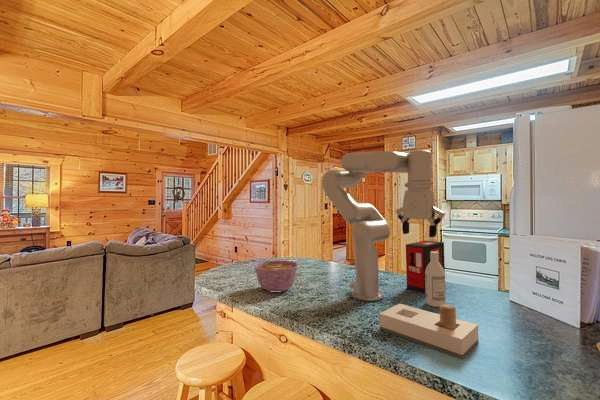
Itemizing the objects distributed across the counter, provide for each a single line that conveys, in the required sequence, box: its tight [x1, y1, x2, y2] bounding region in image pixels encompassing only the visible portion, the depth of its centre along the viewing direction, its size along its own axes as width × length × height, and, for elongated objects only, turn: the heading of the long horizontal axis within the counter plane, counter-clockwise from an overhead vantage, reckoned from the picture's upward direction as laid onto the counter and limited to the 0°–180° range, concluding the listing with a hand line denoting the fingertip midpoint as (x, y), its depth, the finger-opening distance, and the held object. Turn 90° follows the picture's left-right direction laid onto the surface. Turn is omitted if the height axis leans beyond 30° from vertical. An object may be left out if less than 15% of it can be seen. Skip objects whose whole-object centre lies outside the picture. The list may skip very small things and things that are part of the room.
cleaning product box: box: [405, 240, 446, 294], centre depth 133 cm, size 16×9×20 cm, turn 127°
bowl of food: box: [254, 260, 299, 292], centre depth 135 cm, size 20×20×12 cm
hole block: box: [379, 303, 479, 360], centre depth 87 cm, size 12×24×5 cm, turn 42°
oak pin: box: [439, 304, 457, 331], centre depth 82 cm, size 4×4×9 cm
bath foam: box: [425, 252, 447, 308], centre depth 112 cm, size 7×7×20 cm
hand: (418, 235), depth 102 cm, fingers open, 9 cm apart
